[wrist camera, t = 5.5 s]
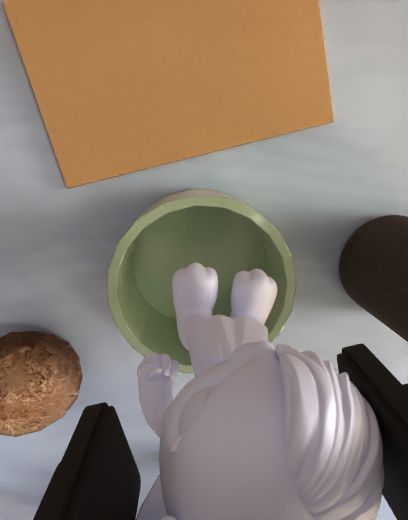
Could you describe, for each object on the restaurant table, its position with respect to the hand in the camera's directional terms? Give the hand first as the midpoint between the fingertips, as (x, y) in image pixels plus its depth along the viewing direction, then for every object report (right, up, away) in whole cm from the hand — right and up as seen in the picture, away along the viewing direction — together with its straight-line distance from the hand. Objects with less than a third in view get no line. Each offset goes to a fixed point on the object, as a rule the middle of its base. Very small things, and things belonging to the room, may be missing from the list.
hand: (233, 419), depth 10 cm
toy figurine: (0, +2, +7) cm, 7 cm away
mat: (-3, +18, +13) cm, 23 cm away
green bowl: (-1, +4, +17) cm, 18 cm away
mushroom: (-15, -4, +19) cm, 24 cm away
